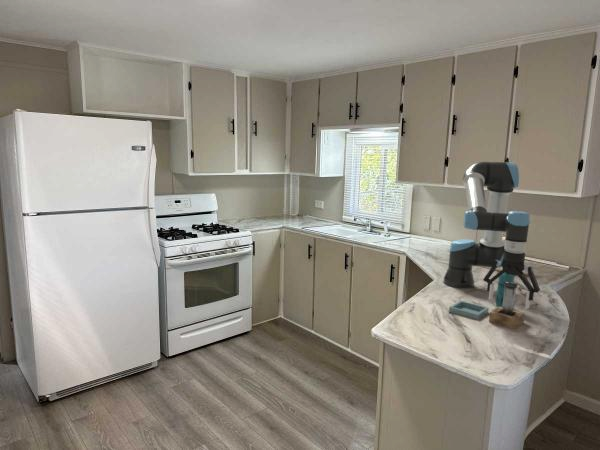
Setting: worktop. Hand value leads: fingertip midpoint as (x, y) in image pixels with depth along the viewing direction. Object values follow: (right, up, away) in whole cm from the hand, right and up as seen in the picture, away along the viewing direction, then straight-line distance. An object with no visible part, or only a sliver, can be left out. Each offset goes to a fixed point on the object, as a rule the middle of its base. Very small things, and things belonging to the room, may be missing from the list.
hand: (508, 303), depth 169 cm
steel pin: (0, -8, +1) cm, 8 cm away
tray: (-11, -7, +11) cm, 17 cm away
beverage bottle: (+7, -6, +20) cm, 22 cm away
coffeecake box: (+36, +5, +91) cm, 98 cm away
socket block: (0, -9, +1) cm, 9 cm away
